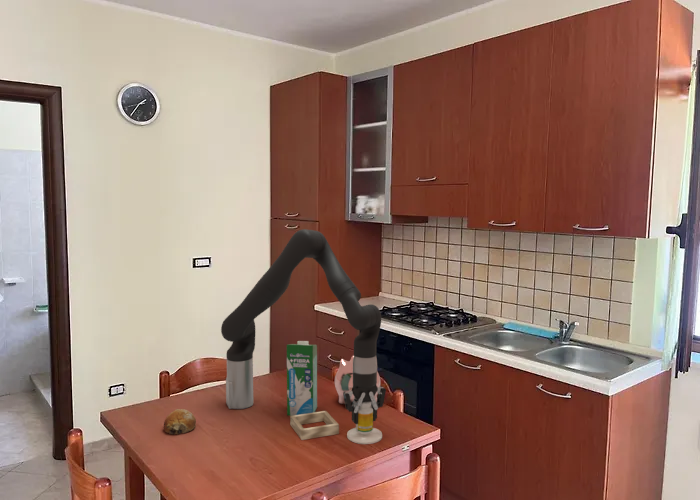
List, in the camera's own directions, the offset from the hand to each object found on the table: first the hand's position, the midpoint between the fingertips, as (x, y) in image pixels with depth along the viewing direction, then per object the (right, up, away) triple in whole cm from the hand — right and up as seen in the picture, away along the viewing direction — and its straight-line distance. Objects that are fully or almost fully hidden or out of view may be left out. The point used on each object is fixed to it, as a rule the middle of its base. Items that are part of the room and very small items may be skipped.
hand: (364, 421), depth 174 cm
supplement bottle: (0, -3, 0) cm, 3 cm away
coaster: (0, -5, 0) cm, 5 cm away
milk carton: (-21, -3, +21) cm, 30 cm away
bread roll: (-60, -4, +6) cm, 60 cm away
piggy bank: (-2, -2, +30) cm, 30 cm away
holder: (-16, -4, +6) cm, 18 cm away
